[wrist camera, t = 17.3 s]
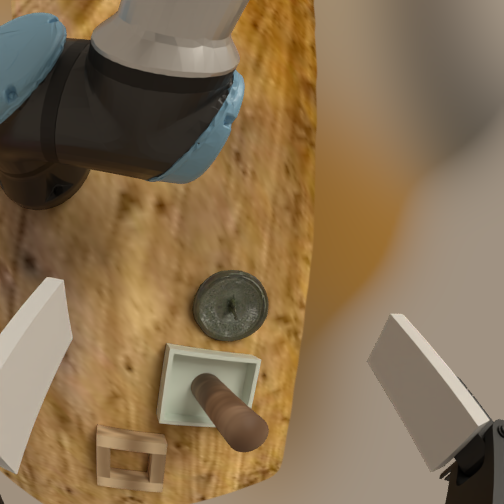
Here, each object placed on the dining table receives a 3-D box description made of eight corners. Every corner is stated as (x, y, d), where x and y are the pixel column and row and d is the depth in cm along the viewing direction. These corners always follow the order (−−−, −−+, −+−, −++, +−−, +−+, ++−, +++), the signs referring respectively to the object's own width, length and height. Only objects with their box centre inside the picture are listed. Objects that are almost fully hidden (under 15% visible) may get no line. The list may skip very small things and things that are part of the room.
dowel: (188, 399, 38) (224, 452, 24) (193, 371, 38) (231, 416, 25) (217, 401, 39) (263, 450, 26) (222, 374, 40) (272, 416, 26)
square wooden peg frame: (97, 474, 30) (97, 485, 28) (97, 424, 32) (96, 434, 29) (158, 481, 34) (162, 492, 32) (163, 434, 36) (167, 444, 33)
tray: (156, 413, 36) (159, 423, 33) (166, 343, 38) (170, 348, 35) (239, 419, 41) (247, 427, 38) (252, 354, 43) (261, 359, 40)
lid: (270, 294, 45) (287, 296, 40) (239, 352, 42) (253, 360, 38) (213, 256, 42) (225, 254, 37) (177, 317, 39) (184, 323, 34)
